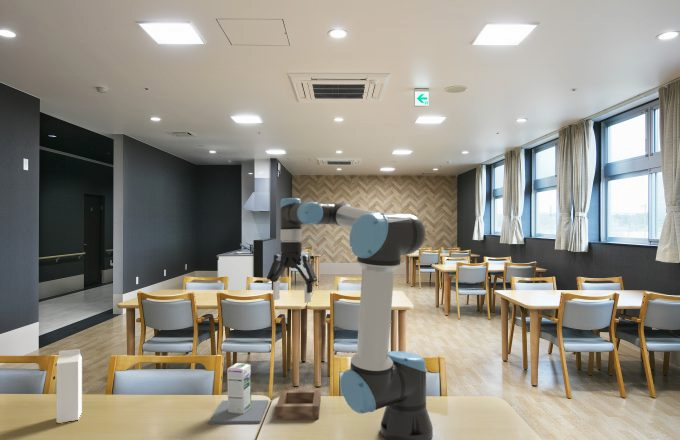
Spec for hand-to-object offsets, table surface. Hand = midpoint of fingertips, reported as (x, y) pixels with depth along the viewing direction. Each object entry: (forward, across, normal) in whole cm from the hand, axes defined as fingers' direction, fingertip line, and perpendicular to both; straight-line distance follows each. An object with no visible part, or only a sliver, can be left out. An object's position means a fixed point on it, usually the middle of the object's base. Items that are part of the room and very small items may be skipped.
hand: (291, 300), depth 155 cm
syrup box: (+34, +8, +18) cm, 39 cm away
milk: (+35, +54, +47) cm, 80 cm away
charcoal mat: (+34, +8, +18) cm, 40 cm away
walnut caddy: (+34, -8, +7) cm, 36 cm away
